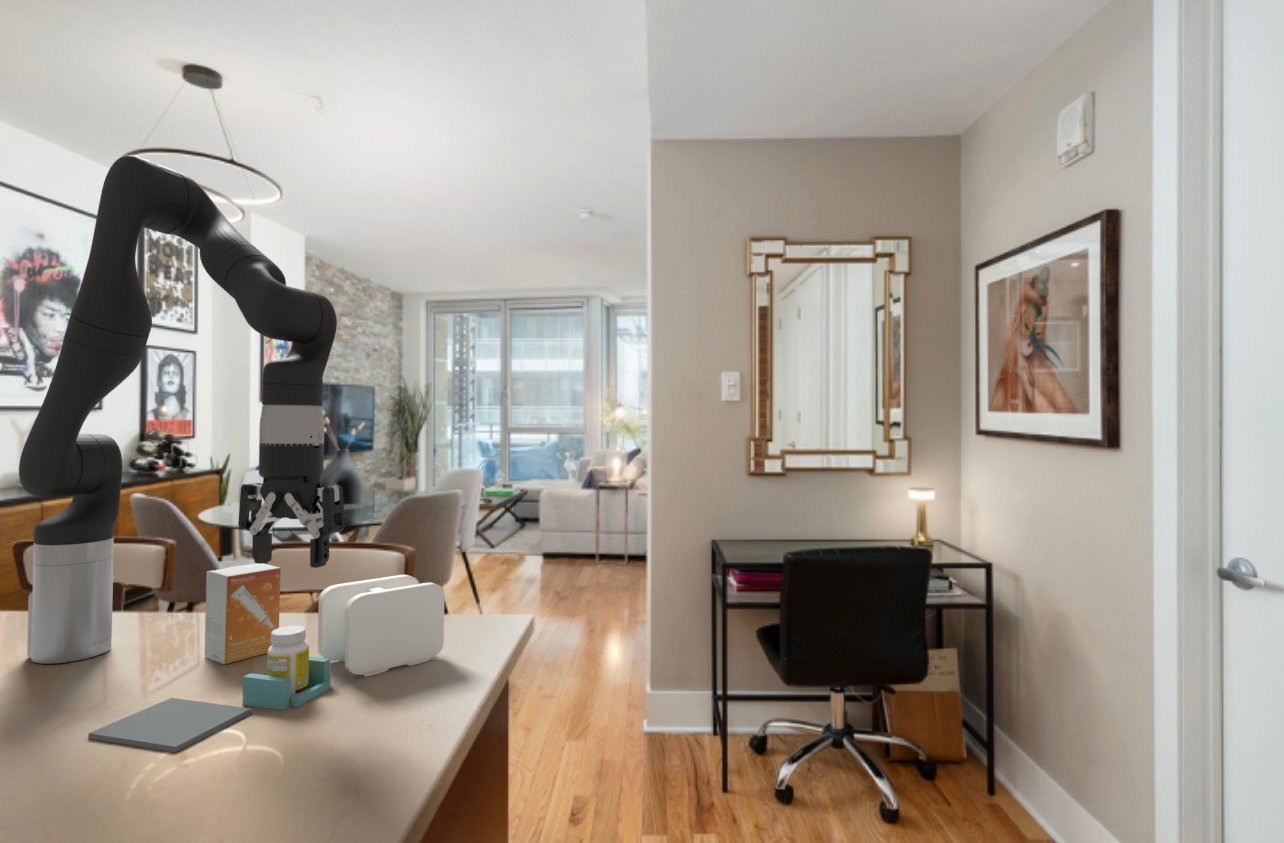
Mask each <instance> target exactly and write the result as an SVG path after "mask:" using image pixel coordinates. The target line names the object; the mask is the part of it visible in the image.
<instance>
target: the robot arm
mask: <svg viewBox="0 0 1284 843" xmlns="http://www.w3.org/2000/svg"><path fill="white" fill-rule="evenodd" d="M95 219H96V220H95V225H94V231H93V236H92V240H91V246H90V251H89V255H88V259H87V263H86V266H85V270H84V273H83V276H82V280H81V284H80V287H79V289H78V290H79V291H78V292H77V295H76V298H75V302H74V305H73V307H72V310H71V313H70V316H69V319H68V322H67V326H66V328H65V333H64V336H63V340H62V345H61V348H60V353H59V355H58V358H57V362H56V365H55V368H54V372H53V375H52V377H51V380H50V384H49V386H48V389H47V392H46V394H45V397H44V400H43V402H42V405H41V406H40V409H39V411H38V413H37V415H36V417H35V419H34V421H33V424H32V427H31V428H30V430H29V432H28V433H29V434H28V436H27V438H26V440H25V443H24V444H23V448H22V451H21V454H20V459H19V466H18V477H19V478H18V479H19V482H20V485H21V486H22V489H23V490H24V491H25V492H27V493H28V494H29V495H31V496H34V497H43V498H51V497H65V496H66V497H67V496H72V499H71V502H70V504H68V506H66V508H64V509H63V510H62V511H60V512H58V513H56V514H55V515H53V516H50V517H48V518H45V519H43V520H41V521H39V522H38V523H36V525H35V526H34V529H33V550H32V552H33V554H32V555H33V556H32V559H33V560H32V562H33V563H32V564H33V566H32V569H33V570H32V592H29V594H28V599H27V600H28V604H27V605H28V610H27V613H28V614H27V648H26V649H27V655H26V656H27V658H30V661H31V662H32V663H35V664H41V665H42V664H45V665H46V664H62V663H69V662H76V661H80V660H81V661H82V660H85V659H89V658H92V657H96V656H99V655H103V654H104V653H106V652H108V651H110V650H111V649H112V635H113V634H112V633H113V630H112V629H113V626H112V625H113V594H114V591H113V587H114V533H115V532H114V531H115V526H116V524H117V522H118V520H119V519H118V518H119V514H120V507H121V506H120V505H121V504H120V503H121V492H122V491H121V490H122V489H121V488H122V480H123V479H122V478H123V455H122V452H121V449H120V447H119V444H118V443H117V442H116V440H115V439H114V438H112V437H111V436H109V435H106V434H101V433H80V432H81V429H82V428H83V425H84V423H85V421H86V419H87V418H88V416H89V415H90V413H91V412H92V411H93V409H95V407H96V406H97V405H98V404H99V403H100V402H101V401H102V400H103V399H105V397H107V396H108V394H110V393H111V392H113V390H115V389H117V387H118V386H120V384H123V382H124V381H125V380H126V379H128V377H130V375H131V374H132V373H133V372H134V371H135V370H136V369H137V367H138V366H139V364H140V363H141V361H142V359H143V355H144V352H145V349H146V347H147V343H148V340H149V337H150V333H151V330H152V326H153V318H152V312H151V307H150V305H149V301H148V299H147V296H146V293H145V291H144V288H143V285H142V283H141V279H140V276H139V274H138V270H137V264H136V254H137V249H138V248H137V246H138V242H139V236H140V233H141V230H142V228H144V229H147V230H151V231H155V232H158V233H162V234H165V235H170V236H172V235H173V236H177V237H179V238H181V239H183V240H185V241H187V242H188V243H190V244H192V245H193V246H195V247H197V248H198V249H199V259H200V261H201V262H200V263H201V265H202V267H203V269H204V271H205V272H206V274H207V275H208V276H209V277H210V279H212V280H213V281H214V282H215V283H216V284H217V285H218V286H219V287H220V288H221V289H222V290H224V292H226V293H227V294H228V295H229V296H231V297H232V298H233V300H234V301H235V303H236V304H237V307H238V309H239V310H240V313H241V314H242V316H243V317H244V319H245V321H246V323H247V324H248V325H249V327H250V328H252V329H253V330H254V331H255V332H257V334H258V333H259V334H260V335H261V336H264V337H266V338H268V339H272V340H277V341H283V342H290V343H291V347H290V349H289V352H288V355H287V356H286V358H283V359H282V358H281V359H275V360H271V361H269V362H266V364H265V365H264V367H263V371H262V382H261V384H262V385H261V386H262V389H261V392H262V393H261V401H262V402H261V404H262V406H261V412H260V418H259V428H258V429H259V432H258V433H259V434H258V437H259V438H258V440H259V441H258V442H259V444H258V448H259V449H258V475H259V476H260V477H261V478H263V479H262V482H261V483H260V482H252V483H244V484H243V483H242V485H241V486H240V493H239V494H240V497H239V509H238V510H239V511H238V524H237V526H238V528H239V530H246V531H248V532H249V533H250V534H251V536H252V544H251V545H252V546H251V547H252V549H251V550H252V551H251V553H252V554H251V555H252V558H253V561H254V564H256V563H258V564H262V563H264V564H267V563H269V562H271V560H272V558H273V555H272V553H273V533H272V532H271V531H272V529H273V528H274V527H275V525H276V524H277V522H278V521H280V520H282V519H284V518H285V519H289V520H298V521H299V522H300V524H301V525H303V526H305V527H306V528H307V530H308V532H309V534H310V535H311V537H312V538H310V543H309V544H310V545H309V550H310V551H309V566H310V567H311V568H313V569H314V568H315V569H317V568H321V567H324V566H326V564H327V562H328V561H329V559H330V538H331V536H332V535H334V534H336V533H341V532H343V531H344V530H345V510H344V489H343V487H342V486H340V485H333V486H332V485H331V486H327V487H326V486H325V487H323V486H322V483H321V477H322V476H323V474H324V473H325V472H324V471H325V470H324V468H325V467H324V465H325V464H324V462H325V459H324V458H325V419H324V412H323V389H324V387H323V386H324V384H323V382H324V381H323V380H324V379H323V378H324V375H325V374H324V373H325V370H326V367H327V364H328V362H329V359H330V354H331V351H332V348H333V344H334V341H335V338H336V333H337V329H338V328H337V327H338V319H337V314H336V311H335V308H334V305H333V304H332V302H331V301H330V300H329V299H328V298H327V297H326V296H325V295H322V294H320V293H318V292H313V291H309V290H305V289H301V288H297V287H293V286H289V285H287V281H286V276H285V275H284V273H283V271H282V270H281V268H279V266H278V265H277V264H276V263H275V262H273V261H272V260H271V259H270V258H269V257H267V256H266V255H265V254H264V253H263V252H262V251H260V250H259V249H258V248H257V247H256V246H255V245H253V244H252V243H251V242H249V240H247V239H246V238H245V237H244V236H243V235H242V234H241V233H239V232H238V231H237V229H236V228H235V227H234V226H233V224H232V223H230V221H229V220H228V219H227V218H226V216H225V215H224V214H223V212H222V211H221V210H220V209H219V208H218V207H217V205H216V204H215V203H214V201H213V199H211V197H210V196H209V195H208V194H207V192H206V191H205V190H204V189H203V187H201V185H199V183H198V182H196V181H195V179H193V178H192V177H190V176H188V175H186V174H184V173H181V172H179V171H177V170H175V169H171V168H169V167H166V166H164V165H161V164H158V163H157V162H153V161H151V160H148V159H145V158H143V157H140V156H136V155H133V154H128V155H126V154H125V155H122V156H120V157H119V158H117V159H116V160H115V161H114V162H113V163H112V165H111V166H110V167H109V170H108V172H107V174H106V176H105V179H104V182H103V184H102V188H101V194H100V199H99V203H98V209H97V214H96V218H95ZM263 501H264V503H262V502H263ZM319 501H320V502H321V503H322V506H321V504H320V503H319ZM270 532H271V533H270Z"/></svg>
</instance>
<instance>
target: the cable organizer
mask: <svg viewBox="0 0 1284 843" xmlns="http://www.w3.org/2000/svg"><path fill="white" fill-rule="evenodd" d="M317 620H318V622H317V624H318V625H317V652H318V655H320V657H321V658H328V659H330V662H334V661H335V662H337V661H338V662H342V663H344V666H345V668H346V669H347V670H348V671H349V672H350V673H352V674H354V675H357V676H364V677H370V676H375V675H378V674H381V673H384V672H387V671H389V669H391V668H396V667H401V666H403V665H404V666H405V665H407V666H413V665H414V666H415V665H417V664H423V663H426V662H429V661H430V659H432V658H434V657H435V656H437V655H438V654H440V653H441V651H442V649H443V648H444V644H445V642H444V640H445V590H444V589H443V587H442V586H441V585H439V584H436V583H434V582H423V583H420V581H419V580H418V579H417V578H416V577H413V576H411V575H409V574H397V575H391V576H384V577H378V578H377V577H376V578H371V579H365V580H359V581H358V580H357V581H350V582H344V583H338V584H337V583H336V584H332V585H329V586H328V587H326V588H324V589H323V590H322V591H321V593H320V594H319V596H318V616H317Z"/></svg>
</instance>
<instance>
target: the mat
mask: <svg viewBox="0 0 1284 843" xmlns="http://www.w3.org/2000/svg"><path fill="white" fill-rule="evenodd" d="M251 714H252V708H251V707H250V708H249V707H243V706H237V705H236V706H234V705H229V704H220V703H212V702H205V701H199V700H190V699H183V698H177V697H169V698H168V699H166V700H162V701H160V702H158V703H156V704H153V705H151V706H149V707H147V708H144V709H143V710H142V709H141V710H139V711H138V712H135V713H132V714H129V715H128V716H126V717H123V718H121V719H118V720H116V721H114V722H112V723H109V724H107V725H105V726H104V725H103V727H100V728H97V729H95V730H93V731H90V732H88V739H89V740H95V741H100V742H102V741H103V742H109V743H115V744H119V745H120V744H121V745H127V746H132V747H133V746H134V747H139V748H144V749H145V748H146V749H152V750H158V751H165V752H170V753H171V752H172V753H177V752H180V751H181V750H183V749H185V748H187V747H188V746H191V745H193V744H195V743H196V742H199V741H200V740H202V739H204V738H206V737H208V736H210V735H213V734H214V733H215V732H218V731H220V730H222V729H223V727H224V726H226V727H227V725H228V726H229V725H231V724H233V723H235V722H237V721H239V720H241V719H243V718H245V717H247V716H249V715H251ZM221 728H222V729H221ZM224 728H225V727H224ZM217 730H218V731H217Z"/></svg>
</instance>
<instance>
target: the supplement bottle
mask: <svg viewBox="0 0 1284 843" xmlns="http://www.w3.org/2000/svg"><path fill="white" fill-rule="evenodd" d="M306 631H307V630H306V627H305V626H303V625H286V626H282V627H279V628H278V629H275V630H273V631H272V633H271V644H273V645H272V646H270V648H269V649H268V653H267V675H269V676H277V677H285V678H291V693H290V701H292V698H293V697H295V696H297V695H299V694H301V693H303V692H305V691H307V690H309V689H310V688H309V687H310V686H309V656H310V654H309V653H310V645H309V643H308V642H307V641H306V639H307V635H306V634H307V632H306Z"/></svg>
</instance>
